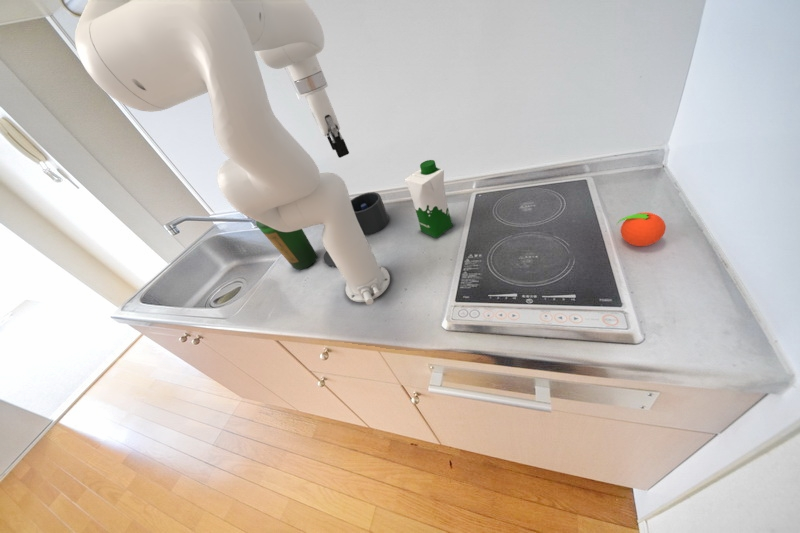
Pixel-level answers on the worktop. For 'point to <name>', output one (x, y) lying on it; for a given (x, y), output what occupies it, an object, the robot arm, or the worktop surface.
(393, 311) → the worktop surface
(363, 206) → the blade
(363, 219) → the dark grey cup
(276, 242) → the bottle
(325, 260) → the lid
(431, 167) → the milk carton
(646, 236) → the clementine
